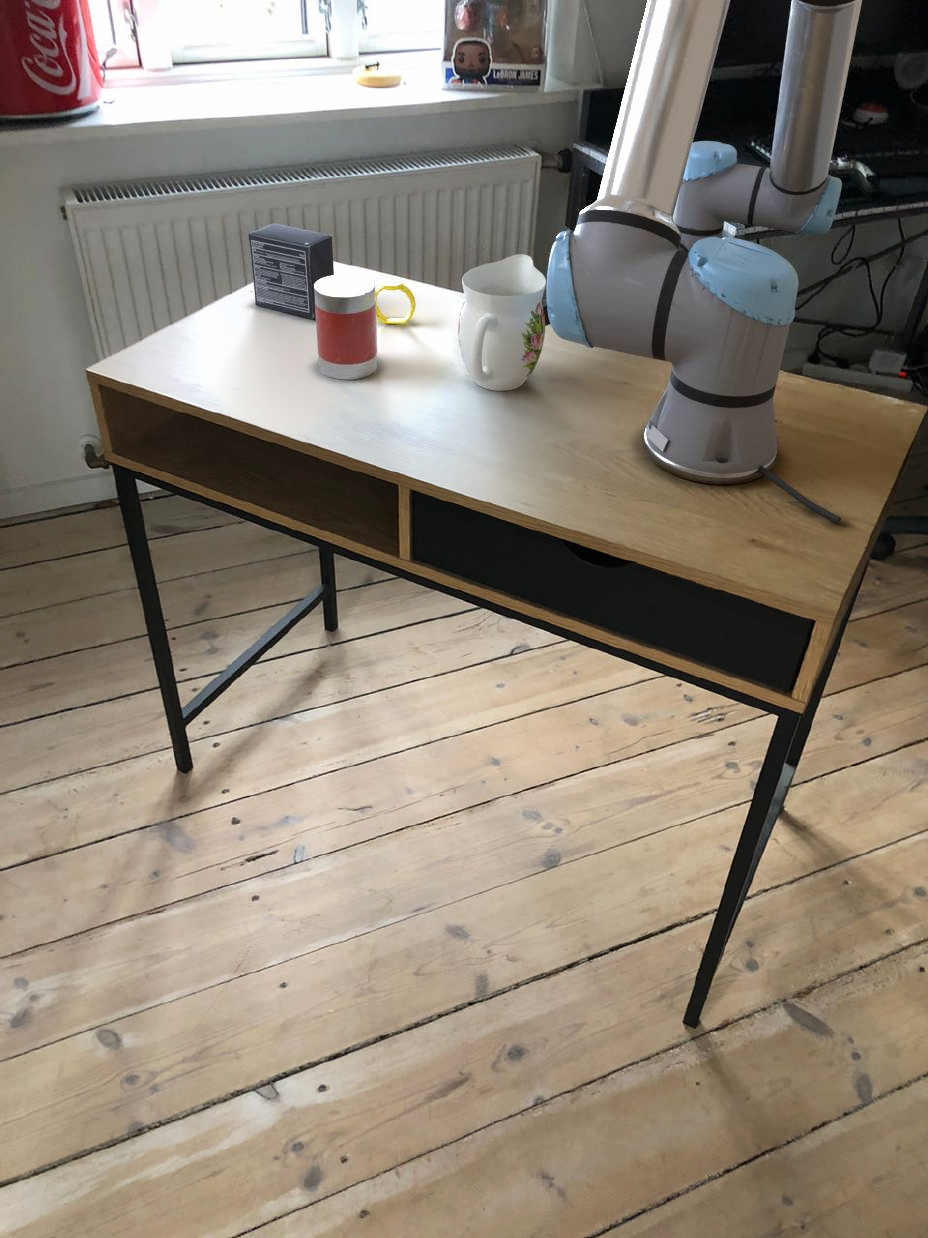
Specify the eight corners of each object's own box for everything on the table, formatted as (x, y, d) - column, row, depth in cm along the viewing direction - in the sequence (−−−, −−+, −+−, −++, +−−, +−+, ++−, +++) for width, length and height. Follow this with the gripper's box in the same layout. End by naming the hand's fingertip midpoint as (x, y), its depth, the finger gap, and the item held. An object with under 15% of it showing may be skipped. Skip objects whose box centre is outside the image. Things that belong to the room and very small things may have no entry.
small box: (338, 305, 151) (335, 233, 145) (313, 320, 147) (308, 247, 140) (279, 291, 155) (273, 220, 148) (253, 305, 150) (246, 233, 144)
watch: (416, 320, 148) (416, 280, 144) (413, 328, 146) (412, 287, 142) (376, 317, 148) (375, 276, 145) (371, 324, 146) (370, 283, 142)
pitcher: (431, 404, 128) (432, 297, 119) (480, 348, 141) (483, 247, 132) (515, 420, 125) (522, 312, 116) (556, 361, 138) (565, 260, 130)
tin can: (389, 368, 135) (387, 286, 128) (343, 385, 131) (339, 302, 124) (352, 349, 140) (349, 269, 133) (307, 365, 135) (301, 283, 129)
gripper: (682, 314, 144) (569, 360, 131) (611, 286, 151) (497, 328, 138) (691, 260, 139) (575, 303, 126) (617, 235, 146) (500, 273, 133)
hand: (535, 316), depth 132 cm, fingers closed
